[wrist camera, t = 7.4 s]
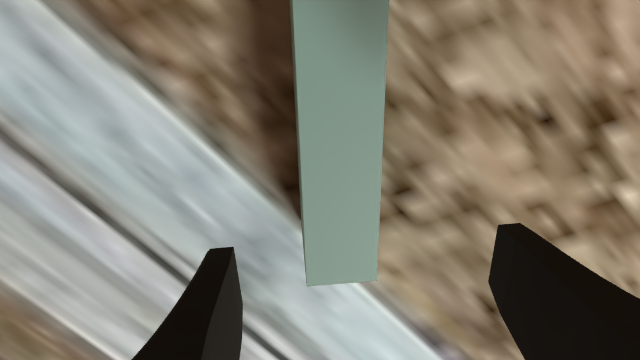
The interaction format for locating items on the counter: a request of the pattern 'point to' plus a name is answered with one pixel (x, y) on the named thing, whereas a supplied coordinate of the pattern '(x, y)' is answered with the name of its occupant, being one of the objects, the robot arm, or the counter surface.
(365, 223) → the rectangular block
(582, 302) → the robot arm
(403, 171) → the counter surface
